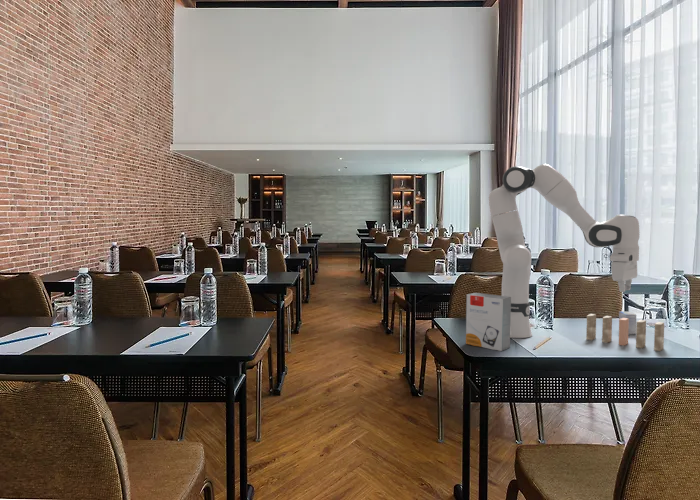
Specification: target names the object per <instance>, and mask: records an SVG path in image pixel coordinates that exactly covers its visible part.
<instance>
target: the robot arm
mask: <svg viewBox="0 0 700 500" xmlns="http://www.w3.org/2000/svg"><path fill="white" fill-rule="evenodd" d="M528 189H534V190H536V191H537V192H538V193H539V194H540V195H541V196H542V198H544V199H545V200H546V201H547V202H548V203H549V204H550V205H552V206H553V207H555V208H556V209H558V210H559V211H562V212H563V213H564V214H566V215H567V216H568V217H569V218H570V219H571V220H572V221H573V223H575V225H576V226H578V228H579V229H580V230H581V232H582V234H583V236H584V240H585V241H586V243H587V244H588V245H589V246H591V247H592V248H606V247H611V246H612V254H610V257H609V261H610V262H611V265H610V266H611V279H612V280H613V282H617V285H618V291H619V292H620V293H624V292H626V291H630V290H631V285H632V283H633V282H632V281H633V279H636V278H637V277H638V262H639V261H640V246H639V239H640V222H639V219H638V218H637V217H636V216H634V215H631V214H630V215H629V214H618V213H617V214H616V215H615V216H613V217H611V218H609V219H607V220H605V221H602V222H599V221H597V220H596V219H595V218H593V217H592V216H591V215H590V213H589V212H588V211H587V210H586V209H585V208H584V207H583V205H581V202H580V201H579V198H578V194H577V191H576V189H575V188H574V186H573V184H571V182H570V181H569V180H568V179H567V178H566V177H565V175H563V174H561V172H559V170H557V169H555V168H554V167H553V166H551V165H550V164H547V163H543V164H539V165H538V166H536V167H535V168H534V169H531V168H528V167H524V166H519V165H514V166H511V167H509V168H507V170H505V172H504V173H503V175H502V185H501V186H500V187H497V188H494V189H493V190H491V191H490V192H489V195H488V205H489V211H490V215H491V220H492V224H493V227H494V231H495V237H496V242H497V246H498V250H499V255H500V260H501V262H502V264H503V265H502V276H501V277H502V278H501V279H502V280H501V296H507V297H511V321H510V339H511V338H512V339H513V338H514V339H516V338H517V339H525V338H532V337H533V333H532V329H531V324H530V312H531V307H530V301H529V300H530V299H529V298H530V297H529V296H530V295H529V294H530V277H531V269H532V254H531V251H530V249H529V248H527V247H526V244H525V235H524V231H523V225H522V222H521V217H520V214H519V209H518V205H517V200H516V199H517V196H518V195H520V194H522V193H523V192H525V191H527V190H528Z"/></svg>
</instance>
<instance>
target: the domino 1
mask: <svg viewBox="0 0 700 500" xmlns="http://www.w3.org/2000/svg"><path fill="white" fill-rule="evenodd" d="M585 338H586V340H587V341H593V340H595V339H596V338H597V314H595V313H589V314H588V315H586V337H585Z"/></svg>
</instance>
